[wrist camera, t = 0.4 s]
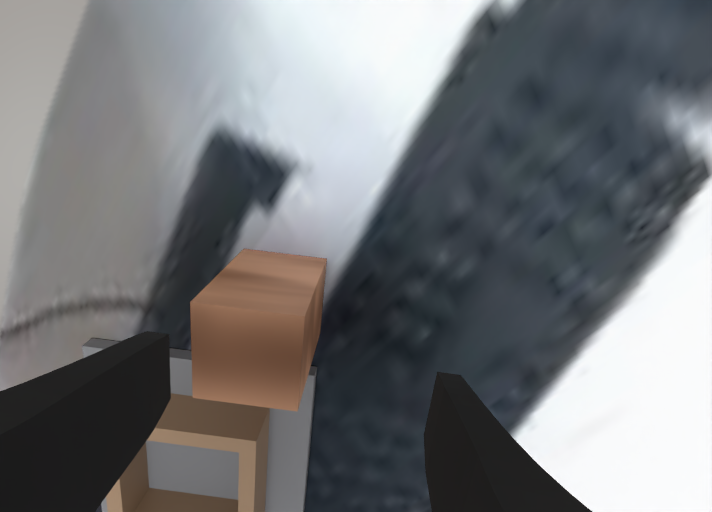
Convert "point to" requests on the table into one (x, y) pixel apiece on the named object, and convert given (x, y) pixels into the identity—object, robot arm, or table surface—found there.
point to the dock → (216, 453)
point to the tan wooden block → (257, 329)
